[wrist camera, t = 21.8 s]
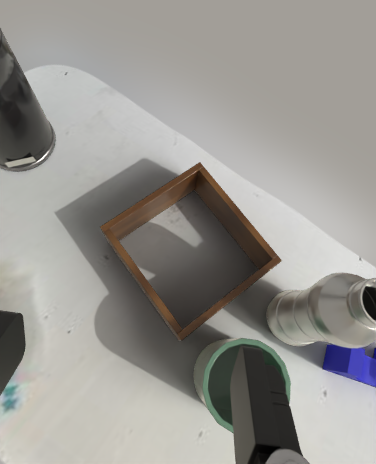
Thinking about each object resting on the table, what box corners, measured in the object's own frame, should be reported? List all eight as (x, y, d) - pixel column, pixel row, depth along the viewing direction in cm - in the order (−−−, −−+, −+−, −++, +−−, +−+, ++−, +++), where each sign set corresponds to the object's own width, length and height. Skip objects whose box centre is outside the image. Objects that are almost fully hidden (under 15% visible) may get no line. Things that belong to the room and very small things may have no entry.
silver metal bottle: (280, 282, 45) (367, 240, 26) (323, 316, 44) (444, 298, 25) (251, 321, 43) (322, 305, 24) (295, 357, 43) (403, 371, 24)
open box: (107, 241, 45) (99, 226, 40) (195, 183, 49) (199, 161, 43) (178, 340, 42) (181, 340, 36) (267, 270, 46) (282, 260, 40)
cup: (179, 368, 41) (184, 376, 32) (232, 325, 43) (251, 321, 34) (222, 429, 40) (241, 457, 30) (274, 381, 42) (308, 393, 32)
